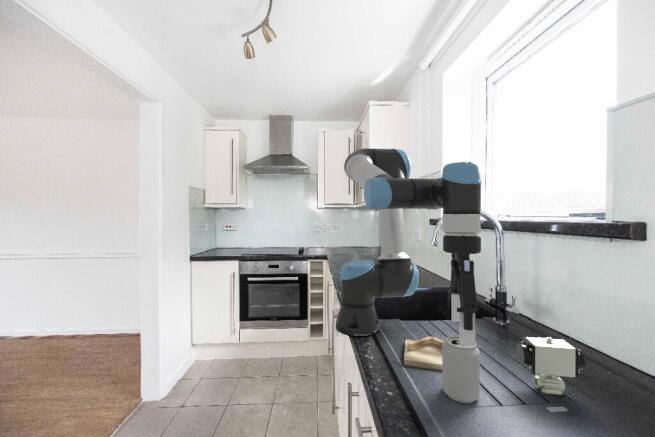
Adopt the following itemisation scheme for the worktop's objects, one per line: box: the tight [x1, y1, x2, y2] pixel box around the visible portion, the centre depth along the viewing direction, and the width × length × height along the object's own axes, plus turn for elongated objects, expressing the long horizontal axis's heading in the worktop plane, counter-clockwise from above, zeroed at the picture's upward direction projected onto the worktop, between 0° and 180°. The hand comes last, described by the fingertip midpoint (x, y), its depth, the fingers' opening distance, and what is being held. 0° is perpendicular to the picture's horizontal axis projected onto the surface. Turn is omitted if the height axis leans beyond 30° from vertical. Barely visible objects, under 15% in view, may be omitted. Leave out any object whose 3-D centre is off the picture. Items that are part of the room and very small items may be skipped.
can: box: [441, 335, 481, 404], centre depth 64 cm, size 8×8×12 cm
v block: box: [403, 336, 445, 372], centre depth 80 cm, size 13×15×4 cm
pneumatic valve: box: [515, 336, 587, 396], centre depth 66 cm, size 6×12×12 cm, turn 78°
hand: (462, 332), depth 63 cm, fingers open, 13 cm apart
